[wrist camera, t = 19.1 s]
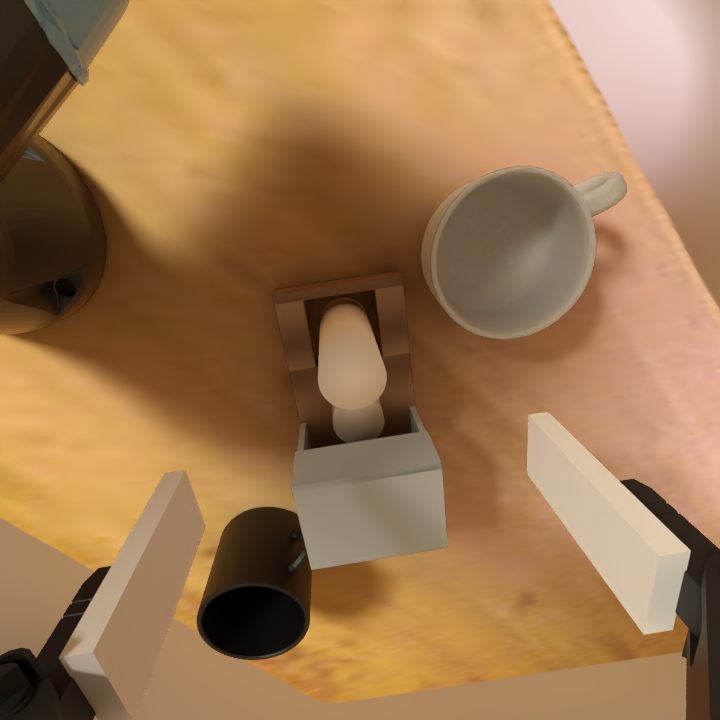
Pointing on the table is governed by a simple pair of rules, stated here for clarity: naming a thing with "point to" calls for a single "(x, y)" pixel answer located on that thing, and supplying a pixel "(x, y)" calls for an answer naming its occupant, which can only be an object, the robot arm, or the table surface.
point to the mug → (257, 587)
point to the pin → (349, 356)
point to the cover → (369, 497)
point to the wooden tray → (296, 334)
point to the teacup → (515, 248)
